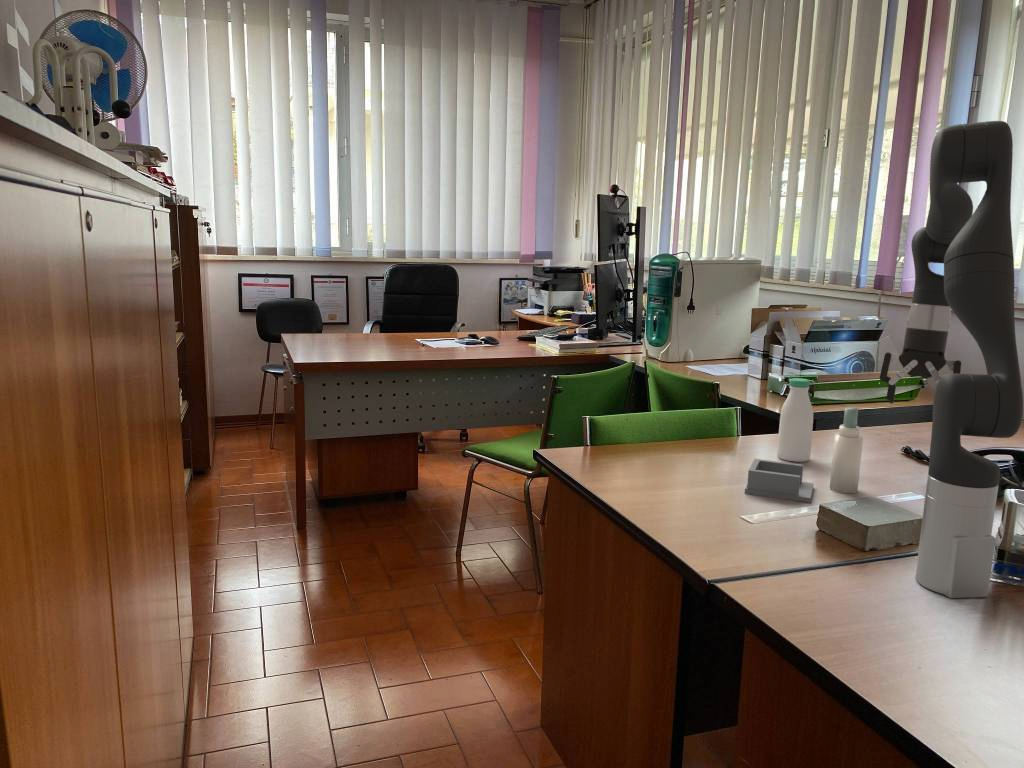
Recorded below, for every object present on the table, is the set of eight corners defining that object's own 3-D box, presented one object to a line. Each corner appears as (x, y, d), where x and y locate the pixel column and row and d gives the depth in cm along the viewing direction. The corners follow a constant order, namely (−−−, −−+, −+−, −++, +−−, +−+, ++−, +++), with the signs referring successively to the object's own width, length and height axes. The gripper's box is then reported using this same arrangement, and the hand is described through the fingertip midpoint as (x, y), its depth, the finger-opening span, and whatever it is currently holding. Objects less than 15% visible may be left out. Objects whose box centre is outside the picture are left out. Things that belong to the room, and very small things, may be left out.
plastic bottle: (862, 493, 159) (871, 411, 155) (837, 493, 158) (845, 411, 155) (848, 485, 164) (857, 405, 161) (824, 485, 164) (832, 405, 160)
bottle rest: (810, 502, 152) (812, 479, 151) (744, 493, 157) (746, 470, 157) (813, 487, 162) (815, 465, 161) (751, 479, 167) (753, 457, 166)
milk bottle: (812, 463, 180) (819, 382, 177) (779, 461, 182) (785, 381, 178) (806, 455, 188) (813, 377, 184) (774, 453, 189) (781, 375, 185)
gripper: (967, 331, 150) (953, 409, 152) (889, 323, 156) (877, 399, 159) (969, 332, 143) (954, 414, 146) (887, 324, 150) (875, 402, 152)
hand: (914, 406), depth 152 cm, fingers open, 8 cm apart
